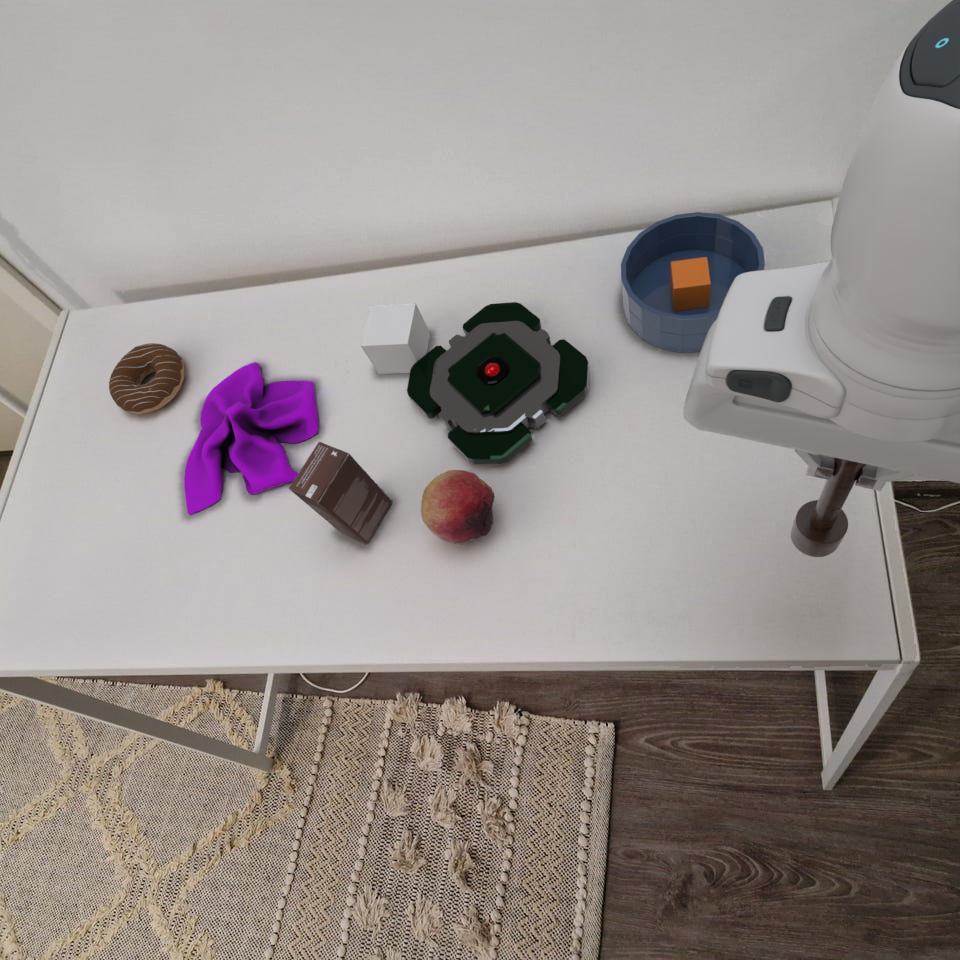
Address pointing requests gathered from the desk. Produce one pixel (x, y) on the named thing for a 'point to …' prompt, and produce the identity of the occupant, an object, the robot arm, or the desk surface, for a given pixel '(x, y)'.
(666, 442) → the desk surface
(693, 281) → the block
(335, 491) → the box
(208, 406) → the cloth
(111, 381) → the donut
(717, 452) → the desk surface
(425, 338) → the white cube
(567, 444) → the desk surface
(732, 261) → the bowl
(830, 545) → the stirrer
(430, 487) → the fruit
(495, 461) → the flat green button pad
